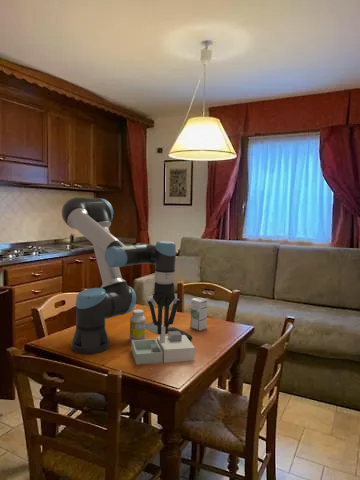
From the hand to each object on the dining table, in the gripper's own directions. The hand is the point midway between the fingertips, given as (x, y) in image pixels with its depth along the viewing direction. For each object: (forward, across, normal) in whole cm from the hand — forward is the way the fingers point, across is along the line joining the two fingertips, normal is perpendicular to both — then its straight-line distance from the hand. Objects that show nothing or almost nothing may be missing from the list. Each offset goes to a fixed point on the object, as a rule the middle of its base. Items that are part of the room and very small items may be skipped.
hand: (162, 341), depth 144 cm
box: (+6, -6, +3) cm, 9 cm away
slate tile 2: (+1, +6, +6) cm, 9 cm away
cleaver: (+7, +8, +28) cm, 30 cm away
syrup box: (+7, +25, +30) cm, 40 cm away
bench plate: (+6, +6, +3) cm, 9 cm away
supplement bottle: (+7, -6, +21) cm, 23 cm away
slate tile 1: (+3, -2, 0) cm, 4 cm away
